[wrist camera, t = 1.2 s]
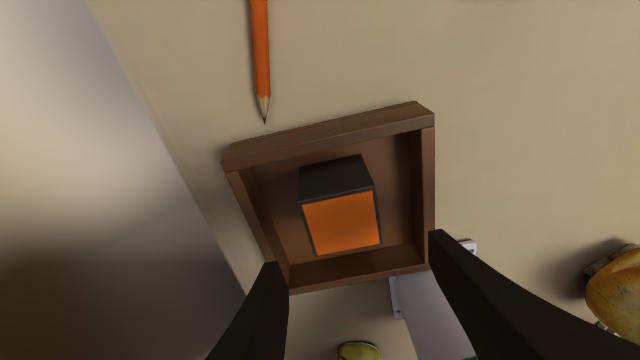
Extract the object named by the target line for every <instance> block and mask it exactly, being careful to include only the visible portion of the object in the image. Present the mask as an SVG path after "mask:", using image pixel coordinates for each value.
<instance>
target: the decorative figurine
mask: <svg viewBox="0 0 640 360" xmlns="http://www.w3.org/2000/svg"><path fill="white" fill-rule="evenodd" d="M583 271H584V272H586V273H588V274H589V275H590V276H591V278H590V280H589V282H588V284H587V287H586V298H585V301H586V304H587V305H588V307H589V308H590V310H591V311H592V312H593V313H594V315H595V316H596V317H597V318H598V319H599V320H600V321H601V322H602V323H603V324H604V325H606V326H607V327H608V328H610V329H611V330H612V331H614V332H615V333H617V334H618V335H619V336H620V337H622V338H624V339H626V340H629V341H631V342H633V343H636V344H638V345H640V248H638V247H637V246H635V245H633V244H628V245H627V246H625V247H624V248H622V249H621V250H619V251H617V252H615V253H614V254H613V255H611V256H609V257H603V258H602V259H600V260H599V261H597V262H595V263H593V264H591V265H590V266H588V267H587V268H585V269H583Z"/></svg>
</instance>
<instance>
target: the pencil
mask: <svg viewBox="0 0 640 360" xmlns="http://www.w3.org/2000/svg"><path fill="white" fill-rule="evenodd" d="M250 11H251V27H252V42H253V57H254V73H255V88H256V96H257V100H258V103H259V107H260V110H261V114H262V117H263V121H264V124H265V121H266V116H267V111H268V105H269V100H270V70H269V44H268V18H267V0H250Z"/></svg>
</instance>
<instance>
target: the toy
mask: <svg viewBox="0 0 640 360" xmlns="http://www.w3.org/2000/svg"><path fill="white" fill-rule="evenodd" d="M337 350H338V352H337V354H338V358H337V359H338V360H382V358H381V353H380V352H379V349H378V348H376V347H374V346H373V345H369V344H367V343H366V344H365V343H363V342H361V343H360V342H359V343H356V342H355V343H354V342H353V343H352V342H351V343H344V344H342V345H340V346H339V348H337Z"/></svg>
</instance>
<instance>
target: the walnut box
mask: <svg viewBox="0 0 640 360" xmlns="http://www.w3.org/2000/svg"><path fill="white" fill-rule="evenodd" d="M358 154H361V155H362V157H363V159H364V161H365V163H366V166H367V168H368V170H369V172H370V175H371V177H372V179H373V181H374V184H375V186H376V193H377V200H378V207H379V215H380V222H381V230H382V237H383V244H382V245H376V246H371V247H366V248H361V249H356V250H351V251H345V252H340V253H335V254H330V255H325V256H320V257H315V256H314V253H313V250H312V247H311V244H310V241H309V238H308V235H307V232H306V229H305V226H304V223H303V220H302V216H301V213H300V210H299V207H298V204H297V194H298V178H299V168H300V167H304V166H308V165H313V164H317V163H322V162H326V161H331V160H335V159H340V158H345V157H349V156H354V155H358ZM220 163H221V165H222V167H223V170H224V172H226V173H225V174H226V176H227V178H228V181H229V183H230V185H231V187H232V189H233V191H234V194H235V196H236V198H237V200H238V202H239V204H240V207H241V209H242V211H243V213H244V215H245V217H246V219H247V222H248V224H249V226H250V228H251V230H252V232H253V235H254V237H255V239H256V241H257V243H258V245H259V248H260V250H261V252H262V254H263V256H264V258H265V261H266V262H271V261H276V260H277V261H278V264H279V266H280V268H281V271H282V273H283V275H284V278H285V280H286V283H287V285H288V287H289V296H291V295H296V294H302V293H307V292H313V291H318V290H323V289H329V288H334V287H340V286H345V285H351V284H356V283H362V282H367V281H372V280H378V279H383V278H389V277H394V276H400V275H405V274H410V273H416V272H421V271H427V270H431V267H430V265H429V263H428V231H432V230H435V127H434V113H433V112H432V111H430V110H429V109H427V108H425V107H424V106H422V105H421V104H419V103H418V102H416V101H412V102H408V103H404V104H399V105H395V106H391V107H386V108H382V109H378V110H373V111H369V112H365V113H360V114H356V115H352V116H347V117H343V118H339V119H334V120H330V121H326V122H321V123H317V124H313V125H309V126H304V127H300V128H296V129H291V130H287V131H283V132H278V133H274V134H270V135H265V136H261V137H257V138H252V139H248V140H244V141H239V142H235V143H232V144H231V146H230V148H229V149H228V151H227V152H226V154H225V155H224V157H223V158H222V159H221V161H220Z"/></svg>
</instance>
